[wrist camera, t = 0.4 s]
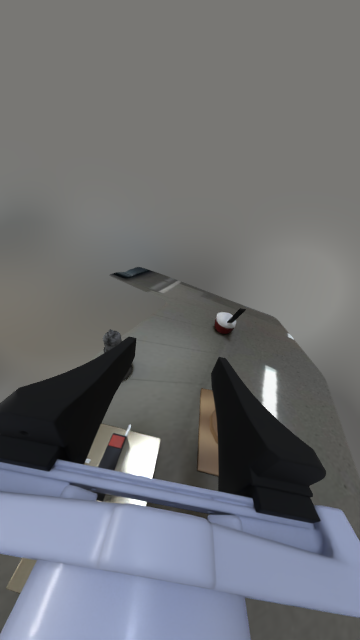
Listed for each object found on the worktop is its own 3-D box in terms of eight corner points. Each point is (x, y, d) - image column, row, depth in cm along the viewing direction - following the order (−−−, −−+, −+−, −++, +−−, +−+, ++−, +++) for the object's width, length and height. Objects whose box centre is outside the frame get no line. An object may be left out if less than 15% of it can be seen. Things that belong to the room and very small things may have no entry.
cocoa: (214, 320, 51) (225, 289, 43) (232, 325, 49) (247, 295, 42) (209, 336, 43) (222, 303, 36) (230, 344, 42) (247, 310, 35)
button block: (266, 489, 20) (276, 488, 18) (196, 470, 20) (200, 468, 19) (248, 400, 29) (253, 395, 28) (200, 389, 30) (203, 383, 28)
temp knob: (109, 501, 16) (102, 501, 13) (94, 497, 16) (83, 496, 13) (129, 444, 20) (126, 435, 17) (117, 441, 20) (112, 432, 17)
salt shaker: (138, 363, 33) (135, 323, 26) (124, 387, 28) (116, 346, 21) (114, 356, 33) (105, 315, 26) (97, 378, 29) (80, 336, 22)
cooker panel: (123, 612, 13) (120, 627, 11) (21, 579, 13) (3, 589, 12) (161, 437, 23) (162, 433, 21) (102, 422, 23) (98, 416, 22)
